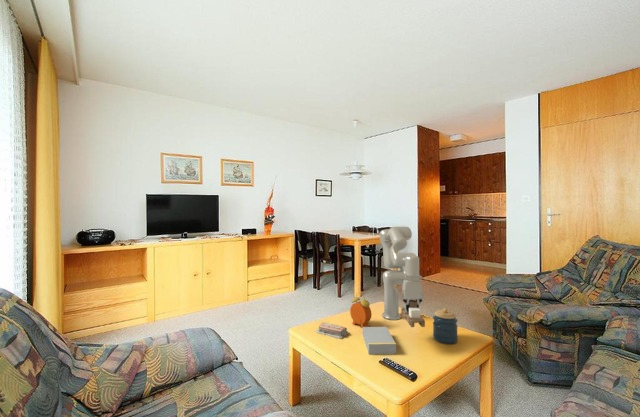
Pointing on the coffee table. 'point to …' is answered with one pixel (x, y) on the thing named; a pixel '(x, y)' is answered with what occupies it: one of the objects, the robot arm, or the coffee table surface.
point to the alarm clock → (360, 312)
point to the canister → (445, 327)
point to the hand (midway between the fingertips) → (412, 310)
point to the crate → (414, 312)
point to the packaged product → (332, 330)
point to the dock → (379, 340)
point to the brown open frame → (410, 320)
